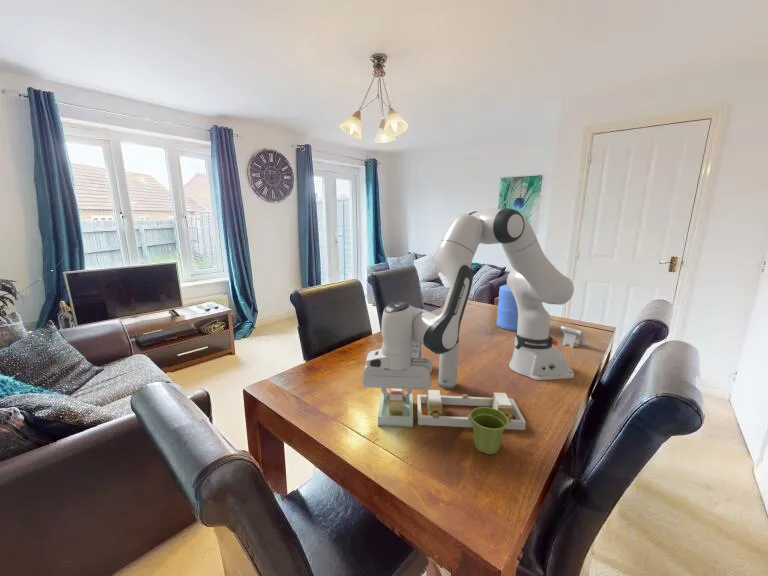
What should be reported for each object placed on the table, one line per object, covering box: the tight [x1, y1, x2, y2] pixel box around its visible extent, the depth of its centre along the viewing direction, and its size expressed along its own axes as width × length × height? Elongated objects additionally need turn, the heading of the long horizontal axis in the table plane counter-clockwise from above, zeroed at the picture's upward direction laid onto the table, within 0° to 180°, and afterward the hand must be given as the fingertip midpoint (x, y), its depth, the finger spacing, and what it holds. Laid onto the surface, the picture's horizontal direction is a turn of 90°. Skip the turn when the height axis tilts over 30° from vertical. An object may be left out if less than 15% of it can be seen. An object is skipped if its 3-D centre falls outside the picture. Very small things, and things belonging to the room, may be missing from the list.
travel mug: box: [437, 336, 460, 390], centre depth 113 cm, size 6×7×20 cm
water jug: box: [495, 283, 518, 332], centre depth 171 cm, size 16×16×28 cm
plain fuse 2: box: [490, 391, 514, 419], centre depth 97 cm, size 4×8×6 cm, turn 176°
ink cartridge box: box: [412, 342, 422, 359], centre depth 129 cm, size 10×6×14 cm, turn 78°
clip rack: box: [416, 393, 526, 431], centre depth 98 cm, size 30×12×3 cm, turn 86°
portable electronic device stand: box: [560, 325, 586, 349], centre depth 149 cm, size 9×8×8 cm
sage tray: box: [377, 392, 414, 429], centre depth 99 cm, size 10×13×3 cm
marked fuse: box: [389, 388, 404, 416], centre depth 98 cm, size 4×8×6 cm, turn 176°
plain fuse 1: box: [426, 388, 443, 416], centre depth 98 cm, size 4×8×6 cm, turn 175°
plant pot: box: [469, 406, 508, 455], centre depth 84 cm, size 9×9×9 cm
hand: (396, 399), depth 98 cm, fingers open, 4 cm apart
